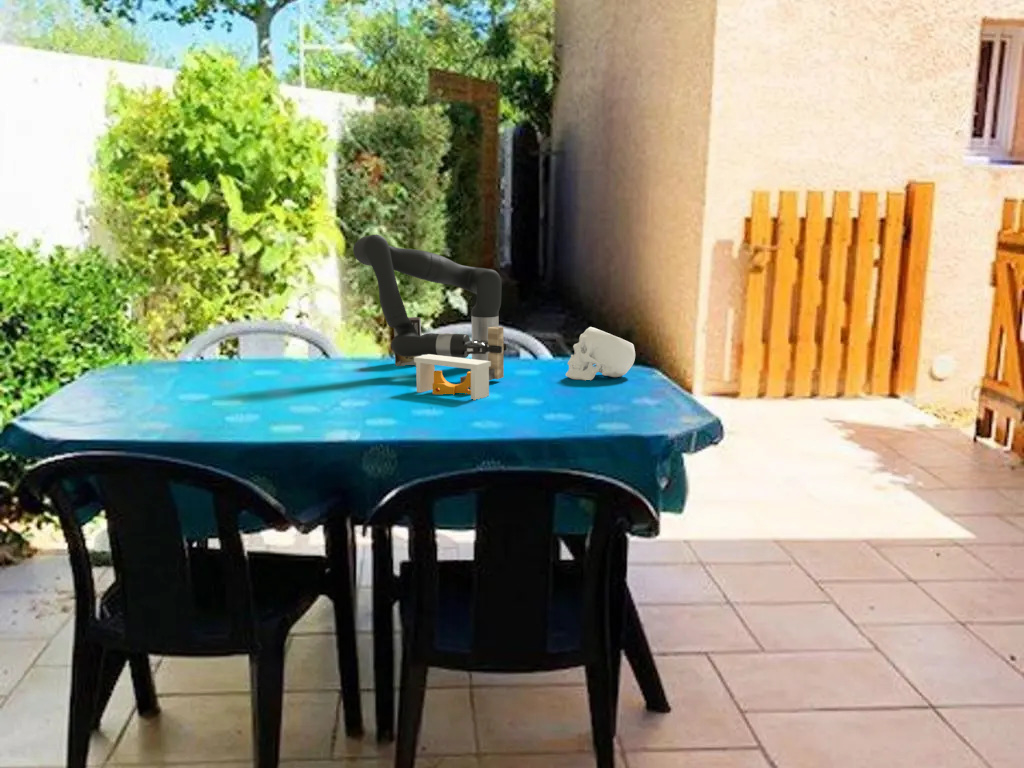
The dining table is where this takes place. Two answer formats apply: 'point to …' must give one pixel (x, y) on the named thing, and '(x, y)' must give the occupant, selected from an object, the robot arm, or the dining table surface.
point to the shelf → (478, 367)
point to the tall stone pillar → (494, 354)
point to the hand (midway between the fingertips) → (503, 348)
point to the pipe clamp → (450, 385)
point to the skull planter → (600, 355)
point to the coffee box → (408, 359)
